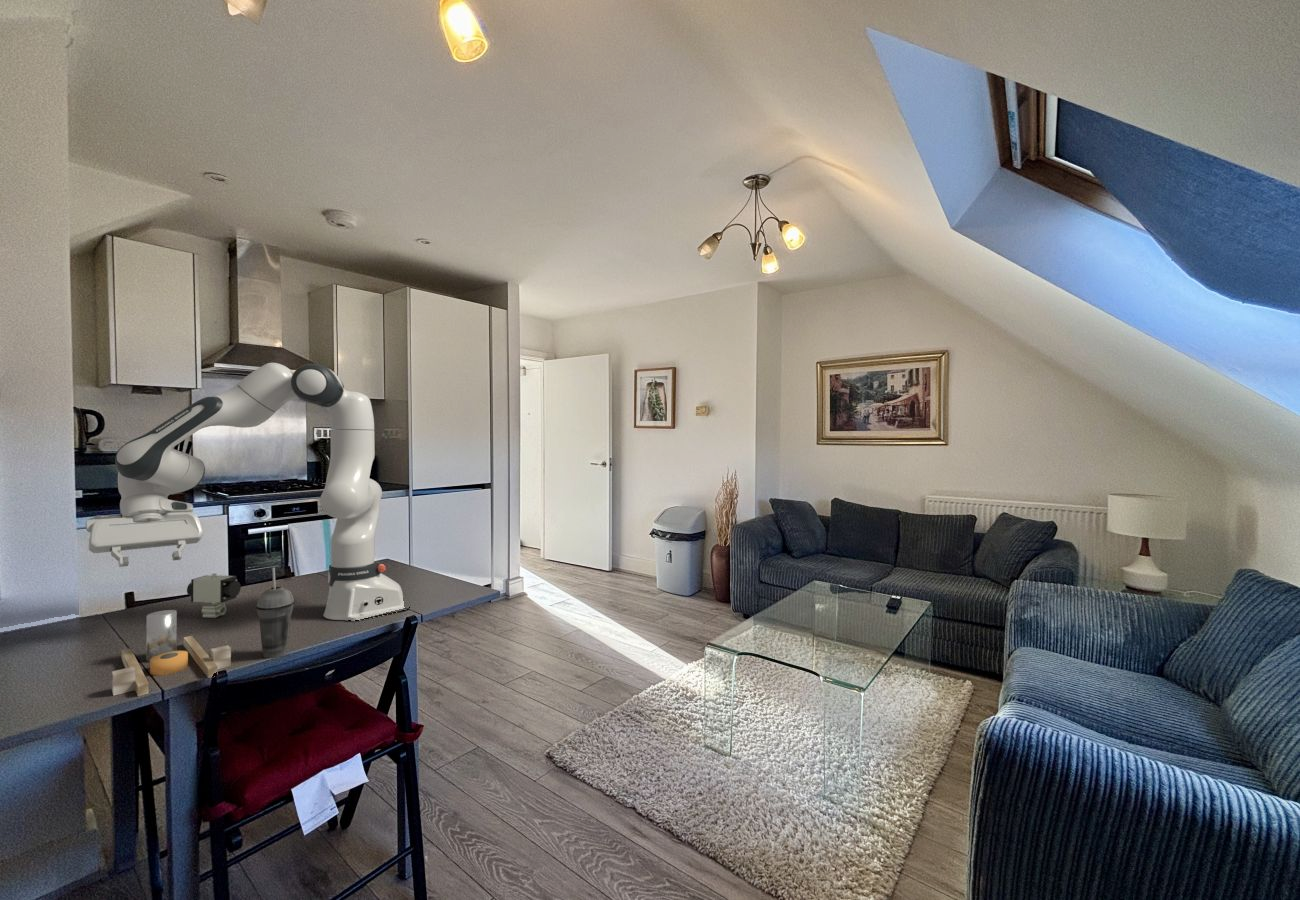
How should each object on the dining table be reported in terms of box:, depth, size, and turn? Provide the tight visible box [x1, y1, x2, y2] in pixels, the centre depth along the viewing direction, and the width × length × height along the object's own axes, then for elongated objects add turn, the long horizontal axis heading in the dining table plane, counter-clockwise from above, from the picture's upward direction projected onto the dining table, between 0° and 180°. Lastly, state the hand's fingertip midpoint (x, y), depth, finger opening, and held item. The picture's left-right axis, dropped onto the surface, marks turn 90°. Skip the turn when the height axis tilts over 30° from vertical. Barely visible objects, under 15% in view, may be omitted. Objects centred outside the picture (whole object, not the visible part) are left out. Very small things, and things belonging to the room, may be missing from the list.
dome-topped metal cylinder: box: [145, 609, 178, 663], centre depth 118 cm, size 5×5×10 cm
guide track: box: [111, 635, 232, 697], centre depth 113 cm, size 18×26×4 cm
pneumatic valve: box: [186, 573, 242, 619], centre depth 146 cm, size 6×12×12 cm, turn 89°
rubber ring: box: [149, 650, 189, 677], centre depth 112 cm, size 6×6×3 cm
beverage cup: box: [255, 567, 295, 659], centre depth 121 cm, size 7×7×20 cm
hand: (151, 562), depth 126 cm, fingers open, 8 cm apart
